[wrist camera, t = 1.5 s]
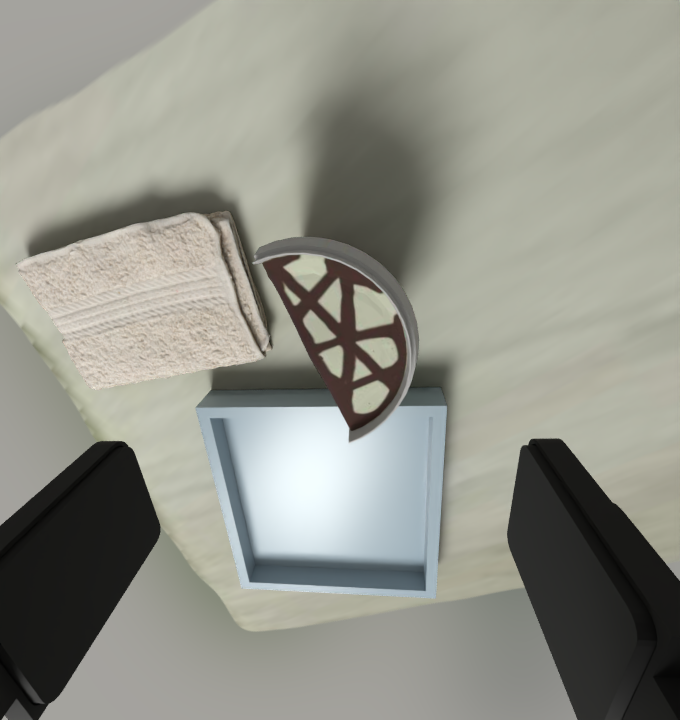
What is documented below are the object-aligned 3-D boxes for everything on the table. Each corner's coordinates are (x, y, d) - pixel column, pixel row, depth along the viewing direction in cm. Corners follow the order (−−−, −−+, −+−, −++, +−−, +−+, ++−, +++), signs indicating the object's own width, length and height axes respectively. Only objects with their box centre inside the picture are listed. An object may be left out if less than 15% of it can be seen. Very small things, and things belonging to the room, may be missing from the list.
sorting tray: (440, 387, 30) (447, 405, 27) (431, 570, 39) (435, 598, 36) (210, 390, 32) (195, 407, 30) (250, 562, 41) (241, 588, 38)
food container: (431, 349, 29) (455, 417, 20) (360, 376, 30) (352, 450, 21) (369, 195, 25) (365, 191, 16) (291, 235, 26) (246, 252, 17)
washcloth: (283, 347, 30) (274, 362, 28) (104, 385, 34) (79, 402, 31) (233, 198, 26) (215, 197, 23) (33, 258, 30) (-3, 264, 27)
